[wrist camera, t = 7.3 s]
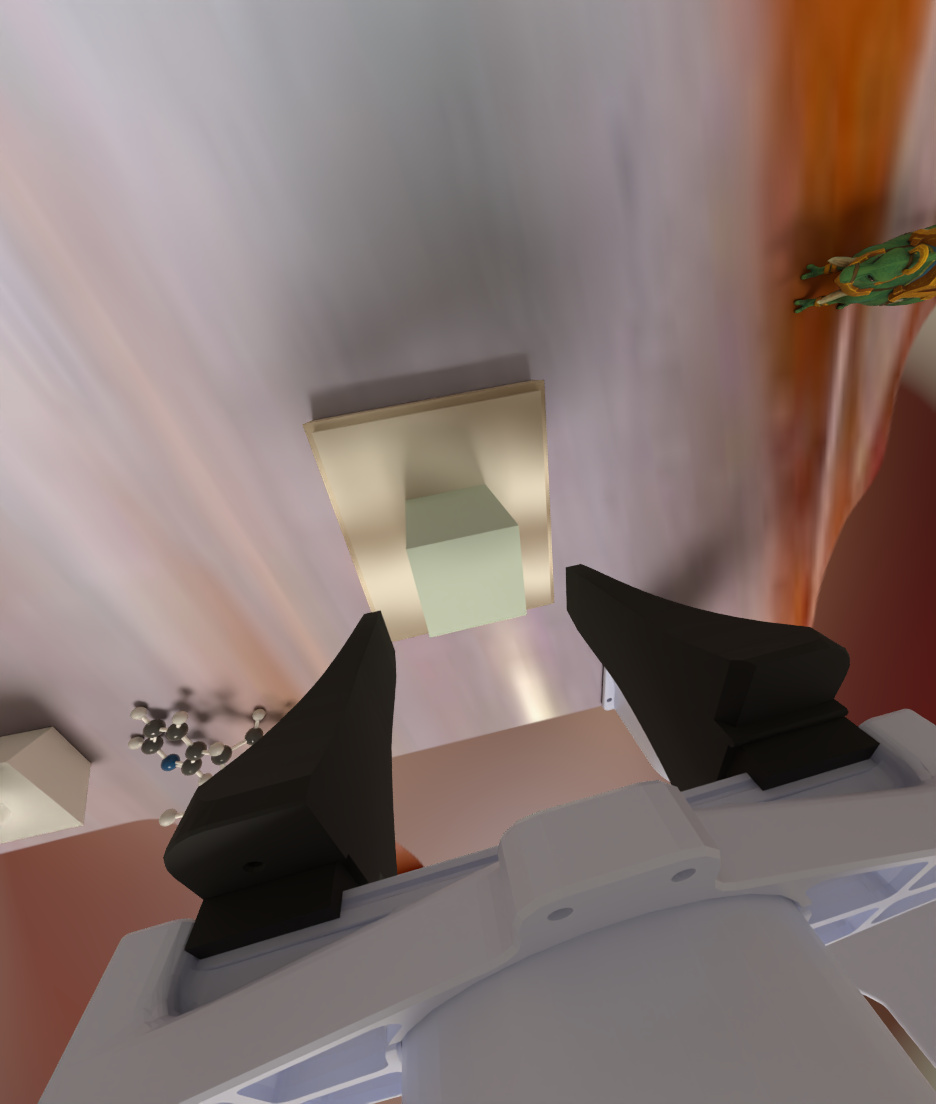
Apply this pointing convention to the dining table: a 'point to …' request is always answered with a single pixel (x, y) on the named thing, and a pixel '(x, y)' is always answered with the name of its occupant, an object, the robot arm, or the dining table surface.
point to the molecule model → (193, 752)
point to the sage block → (464, 559)
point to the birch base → (435, 483)
